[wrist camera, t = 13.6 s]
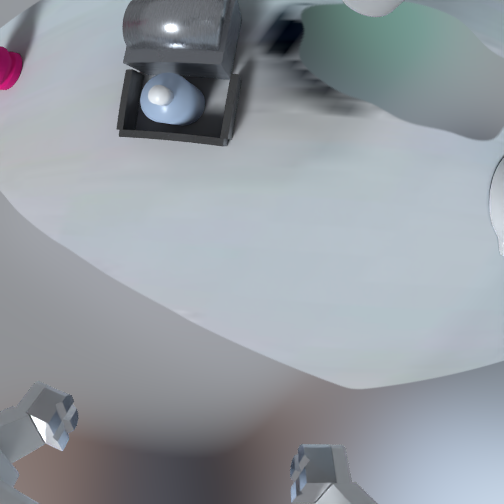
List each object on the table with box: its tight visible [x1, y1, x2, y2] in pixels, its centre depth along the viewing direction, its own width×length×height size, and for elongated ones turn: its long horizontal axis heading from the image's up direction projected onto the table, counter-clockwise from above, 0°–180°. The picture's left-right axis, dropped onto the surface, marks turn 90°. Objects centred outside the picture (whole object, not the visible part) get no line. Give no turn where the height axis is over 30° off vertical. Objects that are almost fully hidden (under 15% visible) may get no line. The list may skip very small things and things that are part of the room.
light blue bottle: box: [140, 72, 205, 126], centre depth 27 cm, size 5×5×9 cm
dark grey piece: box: [117, 0, 242, 146], centre depth 26 cm, size 13×16×10 cm
